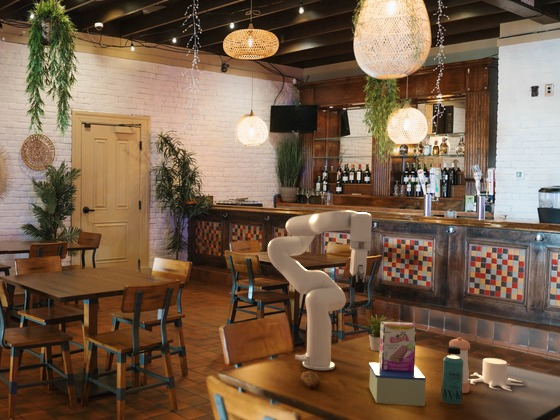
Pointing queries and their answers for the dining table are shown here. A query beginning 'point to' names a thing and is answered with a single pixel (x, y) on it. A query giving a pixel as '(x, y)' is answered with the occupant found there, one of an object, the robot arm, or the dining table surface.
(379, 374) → the container lid
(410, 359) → the candy bar box
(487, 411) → the dining table surface
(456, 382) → the beverage bottle
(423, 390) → the container
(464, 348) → the pepper shaker
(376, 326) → the house plant
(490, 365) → the tree stump
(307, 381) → the croissant
